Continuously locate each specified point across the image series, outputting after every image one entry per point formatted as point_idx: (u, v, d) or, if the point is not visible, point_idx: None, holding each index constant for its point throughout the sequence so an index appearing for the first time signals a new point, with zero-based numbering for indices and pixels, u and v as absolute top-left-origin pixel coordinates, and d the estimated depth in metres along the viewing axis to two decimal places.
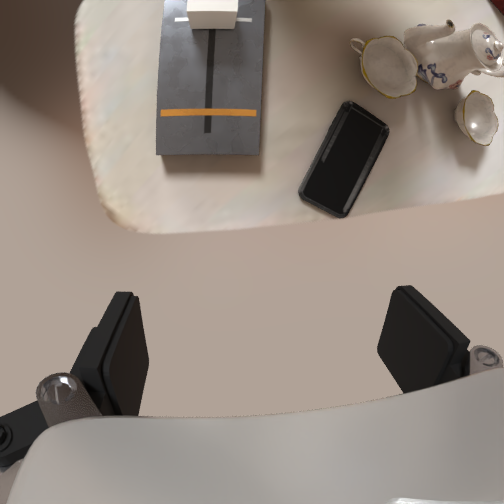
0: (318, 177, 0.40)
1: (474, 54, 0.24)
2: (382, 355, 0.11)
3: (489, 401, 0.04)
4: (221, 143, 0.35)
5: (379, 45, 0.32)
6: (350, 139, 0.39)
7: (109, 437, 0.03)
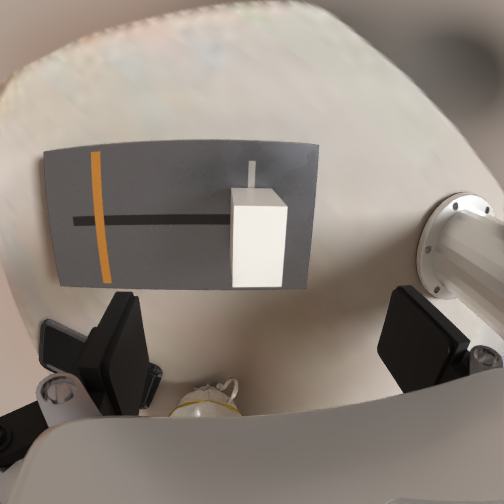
0: (67, 341, 0.30)
1: None
2: (382, 355, 0.11)
3: (489, 401, 0.04)
4: (64, 240, 0.23)
5: None
6: None
7: (110, 438, 0.03)
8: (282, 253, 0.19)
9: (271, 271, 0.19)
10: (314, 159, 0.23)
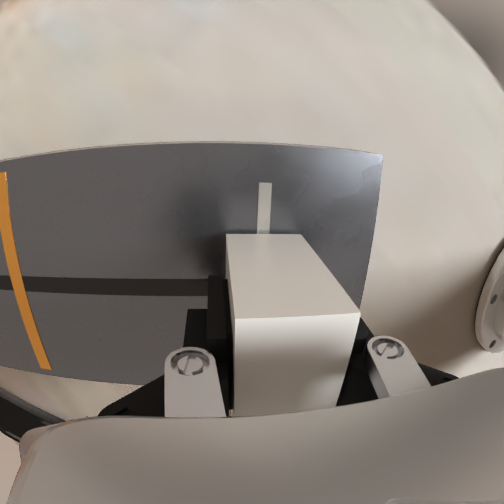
0: (21, 413, 0.19)
1: None
2: None
3: (489, 401, 0.04)
4: None
5: None
6: None
7: (109, 437, 0.03)
8: (336, 394, 0.08)
9: None
10: (374, 180, 0.13)
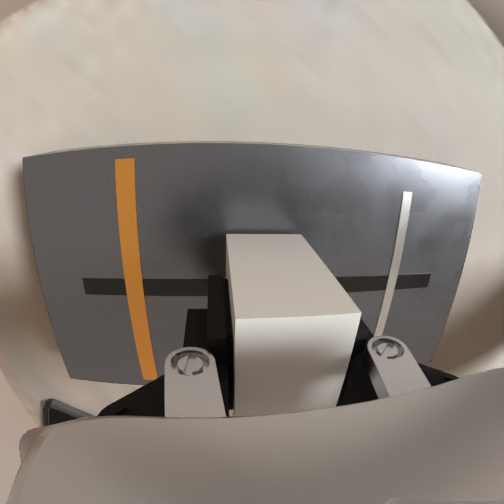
0: None
1: None
2: None
3: (489, 401, 0.04)
4: (70, 316, 0.13)
5: None
6: None
7: (109, 437, 0.03)
8: (336, 394, 0.08)
9: None
10: (475, 193, 0.13)
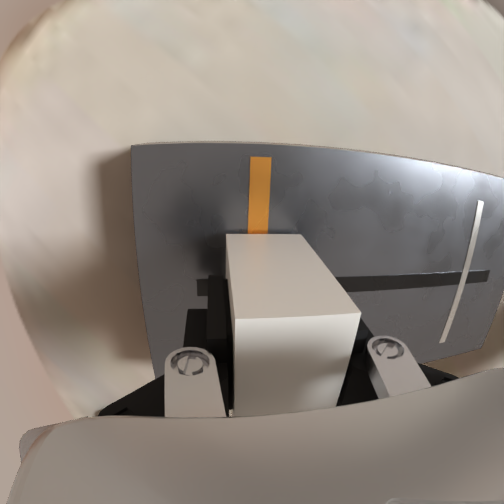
0: None
1: None
2: None
3: (489, 401, 0.04)
4: (172, 320, 0.14)
5: None
6: None
7: (109, 437, 0.03)
8: (336, 394, 0.08)
9: None
10: None
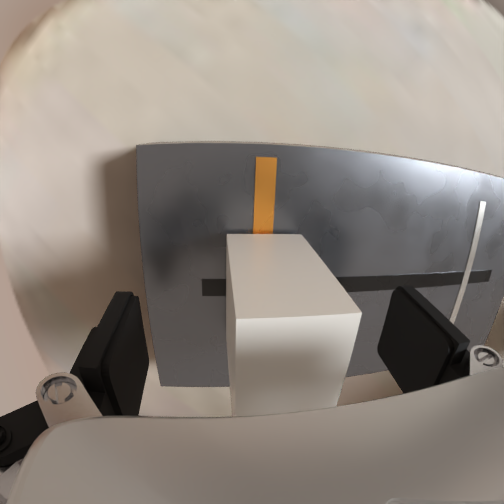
0: None
1: None
2: (382, 355, 0.11)
3: (489, 401, 0.04)
4: (177, 320, 0.14)
5: None
6: None
7: (109, 438, 0.03)
8: (336, 394, 0.08)
9: None
10: None
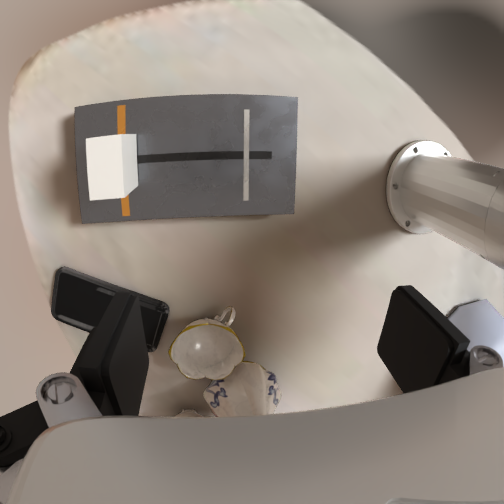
0: (80, 286, 0.34)
1: None
2: (382, 355, 0.11)
3: (489, 401, 0.04)
4: None
5: (233, 338, 0.37)
6: None
7: (109, 438, 0.03)
8: (121, 170, 0.22)
9: (115, 185, 0.23)
10: (294, 108, 0.29)
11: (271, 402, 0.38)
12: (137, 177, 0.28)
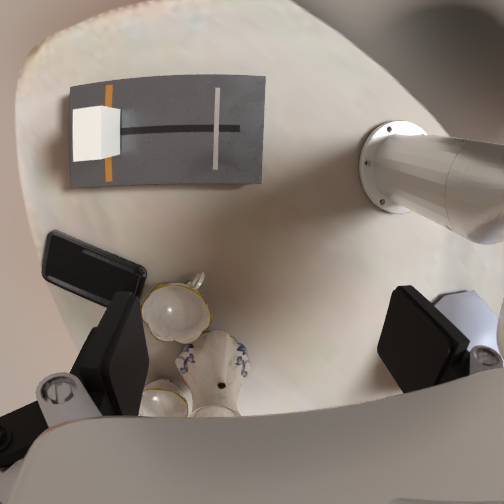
0: (68, 248, 0.37)
1: (198, 407, 0.33)
2: (382, 355, 0.11)
3: (489, 401, 0.04)
4: None
5: (202, 303, 0.39)
6: (109, 276, 0.39)
7: (110, 438, 0.03)
8: (100, 135, 0.25)
9: (94, 148, 0.25)
10: (262, 86, 0.30)
11: (238, 373, 0.40)
12: (119, 147, 0.31)
